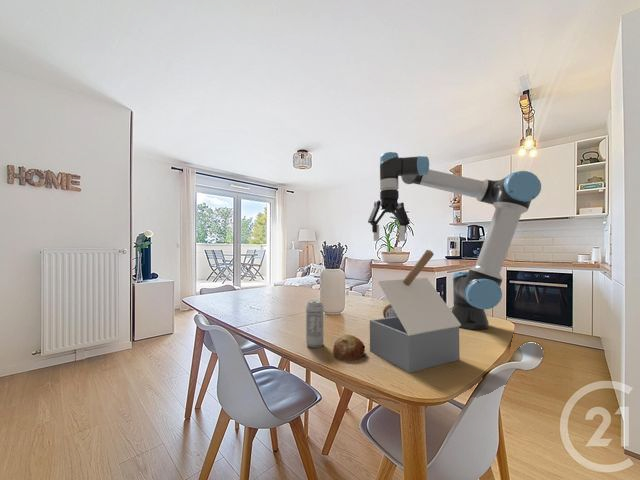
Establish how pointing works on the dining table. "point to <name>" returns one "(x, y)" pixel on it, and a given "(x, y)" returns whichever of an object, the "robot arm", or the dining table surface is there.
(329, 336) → the dining table surface
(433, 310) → the flap
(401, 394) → the dining table surface
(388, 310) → the tin
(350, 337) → the bread roll
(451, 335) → the carton
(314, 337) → the energy drink can
